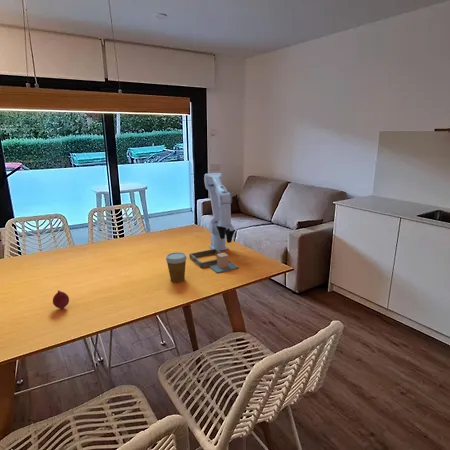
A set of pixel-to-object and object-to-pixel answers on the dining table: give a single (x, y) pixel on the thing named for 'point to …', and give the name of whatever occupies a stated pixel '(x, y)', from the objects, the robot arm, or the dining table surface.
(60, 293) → the onion
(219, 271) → the mat
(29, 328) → the dining table surface
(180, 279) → the disposable coffee cup
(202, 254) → the grey square frame
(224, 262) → the block
